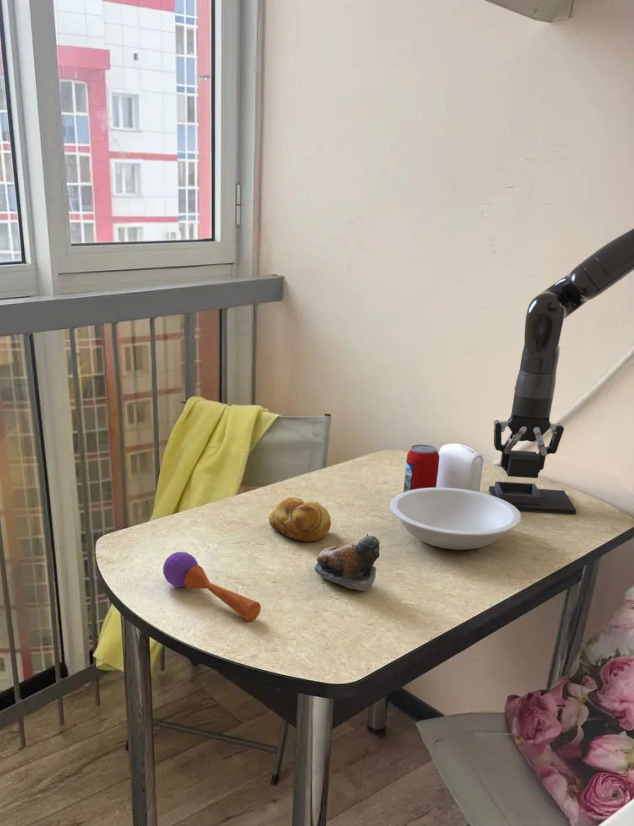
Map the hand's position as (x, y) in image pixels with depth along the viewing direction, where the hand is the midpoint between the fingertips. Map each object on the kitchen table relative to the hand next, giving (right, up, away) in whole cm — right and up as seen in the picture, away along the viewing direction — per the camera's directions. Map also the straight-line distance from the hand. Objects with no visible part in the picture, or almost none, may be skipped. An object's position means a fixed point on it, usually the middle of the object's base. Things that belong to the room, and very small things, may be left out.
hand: (521, 470), depth 165 cm
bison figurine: (-42, -23, -33) cm, 58 cm away
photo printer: (-13, -6, +3) cm, 15 cm away
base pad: (+3, -7, +3) cm, 8 cm away
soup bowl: (-20, -15, -16) cm, 30 cm away
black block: (0, -1, 0) cm, 1 cm away
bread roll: (-49, -14, -13) cm, 52 cm away
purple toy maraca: (-66, -25, -38) cm, 80 cm away
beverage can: (-21, -7, +3) cm, 23 cm away
